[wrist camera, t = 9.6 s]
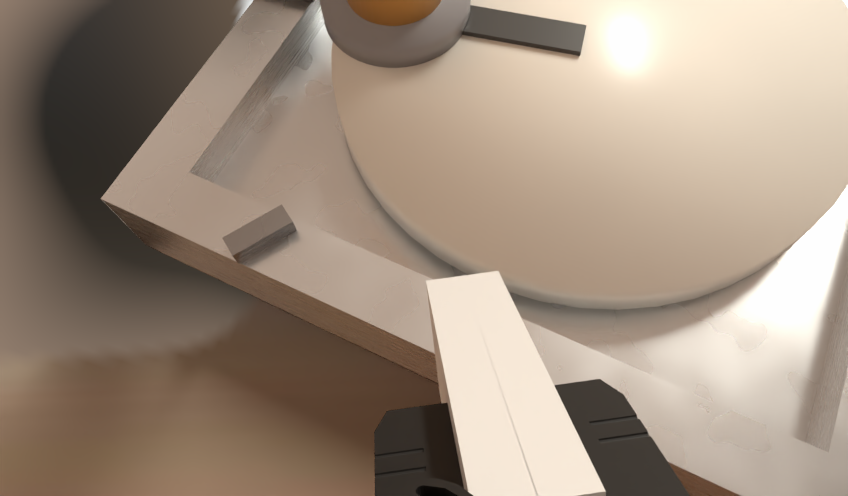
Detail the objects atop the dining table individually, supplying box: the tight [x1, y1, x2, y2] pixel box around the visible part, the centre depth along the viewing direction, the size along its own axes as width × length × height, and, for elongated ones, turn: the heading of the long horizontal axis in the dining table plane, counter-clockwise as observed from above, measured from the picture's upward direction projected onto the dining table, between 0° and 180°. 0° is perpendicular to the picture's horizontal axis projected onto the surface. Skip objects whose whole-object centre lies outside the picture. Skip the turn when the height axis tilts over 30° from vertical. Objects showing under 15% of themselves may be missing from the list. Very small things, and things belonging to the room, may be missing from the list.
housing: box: [101, 0, 848, 496], centre depth 24 cm, size 24×24×4 cm
